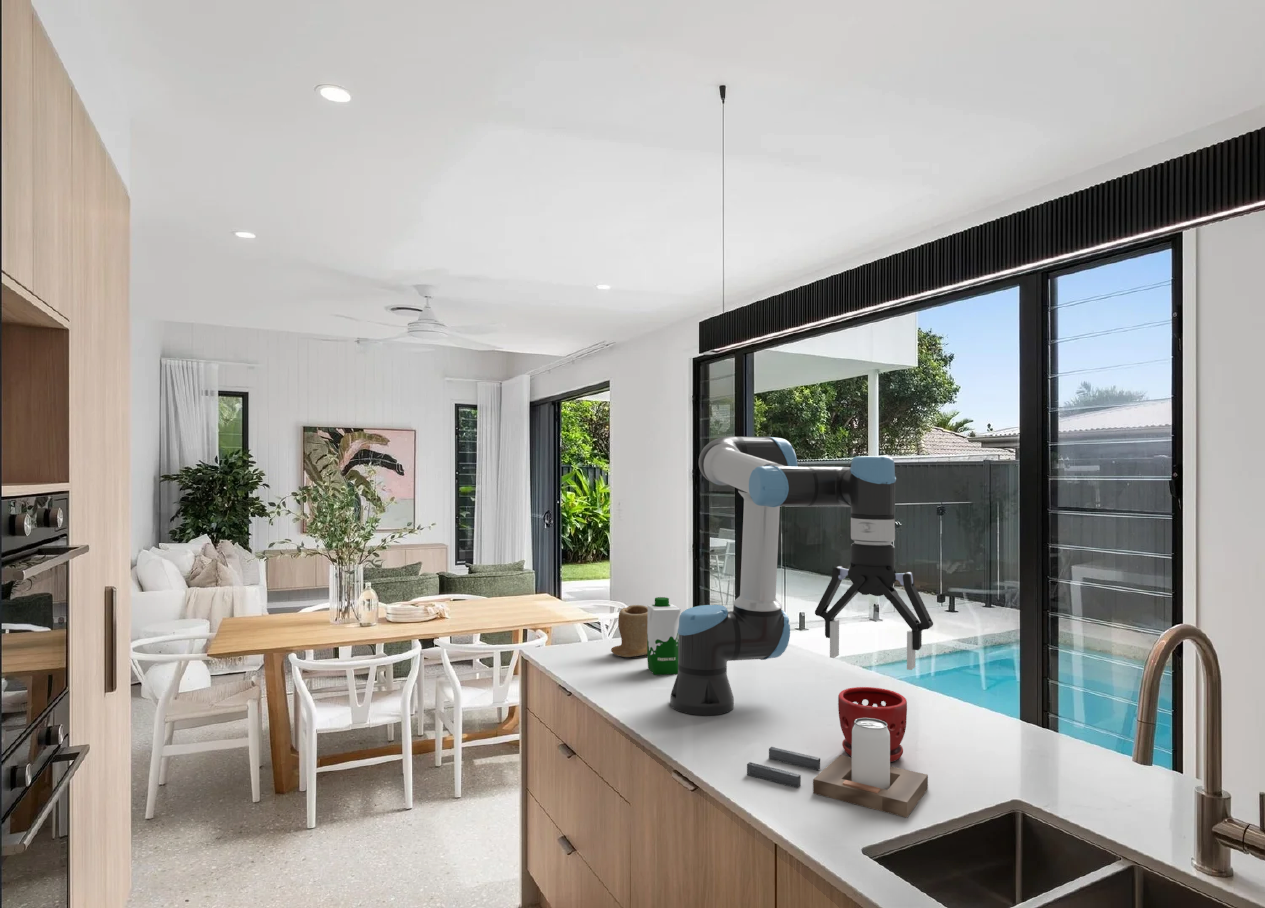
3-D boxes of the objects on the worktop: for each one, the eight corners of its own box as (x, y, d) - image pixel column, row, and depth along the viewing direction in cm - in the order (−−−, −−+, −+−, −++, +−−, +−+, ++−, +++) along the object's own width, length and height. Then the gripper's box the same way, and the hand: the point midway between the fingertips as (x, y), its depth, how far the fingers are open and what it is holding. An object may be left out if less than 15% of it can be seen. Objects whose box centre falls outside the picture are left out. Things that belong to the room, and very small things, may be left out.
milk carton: (673, 666, 219) (674, 596, 220) (683, 674, 211) (683, 601, 211) (644, 667, 217) (644, 597, 218) (652, 676, 209) (653, 602, 209)
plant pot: (831, 743, 159) (831, 685, 159) (894, 744, 159) (895, 686, 159) (846, 767, 146) (847, 704, 146) (916, 769, 146) (916, 706, 146)
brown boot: (625, 662, 223) (626, 611, 223) (606, 653, 233) (606, 604, 234) (669, 656, 231) (669, 607, 231) (648, 648, 241) (649, 600, 241)
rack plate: (813, 793, 134) (813, 777, 134) (840, 767, 146) (840, 753, 146) (906, 817, 125) (907, 800, 125) (927, 788, 137) (927, 772, 137)
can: (891, 800, 132) (892, 730, 132) (852, 796, 133) (853, 727, 133) (887, 785, 138) (887, 718, 138) (850, 781, 139) (850, 715, 139)
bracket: (746, 774, 142) (746, 763, 142) (771, 756, 151) (771, 746, 151) (798, 788, 136) (798, 776, 136) (820, 768, 145) (820, 757, 145)
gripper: (798, 539, 140) (797, 655, 140) (941, 549, 126) (940, 678, 126) (813, 536, 146) (812, 648, 146) (951, 545, 132) (950, 668, 132)
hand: (871, 662), depth 136 cm, fingers open, 13 cm apart
